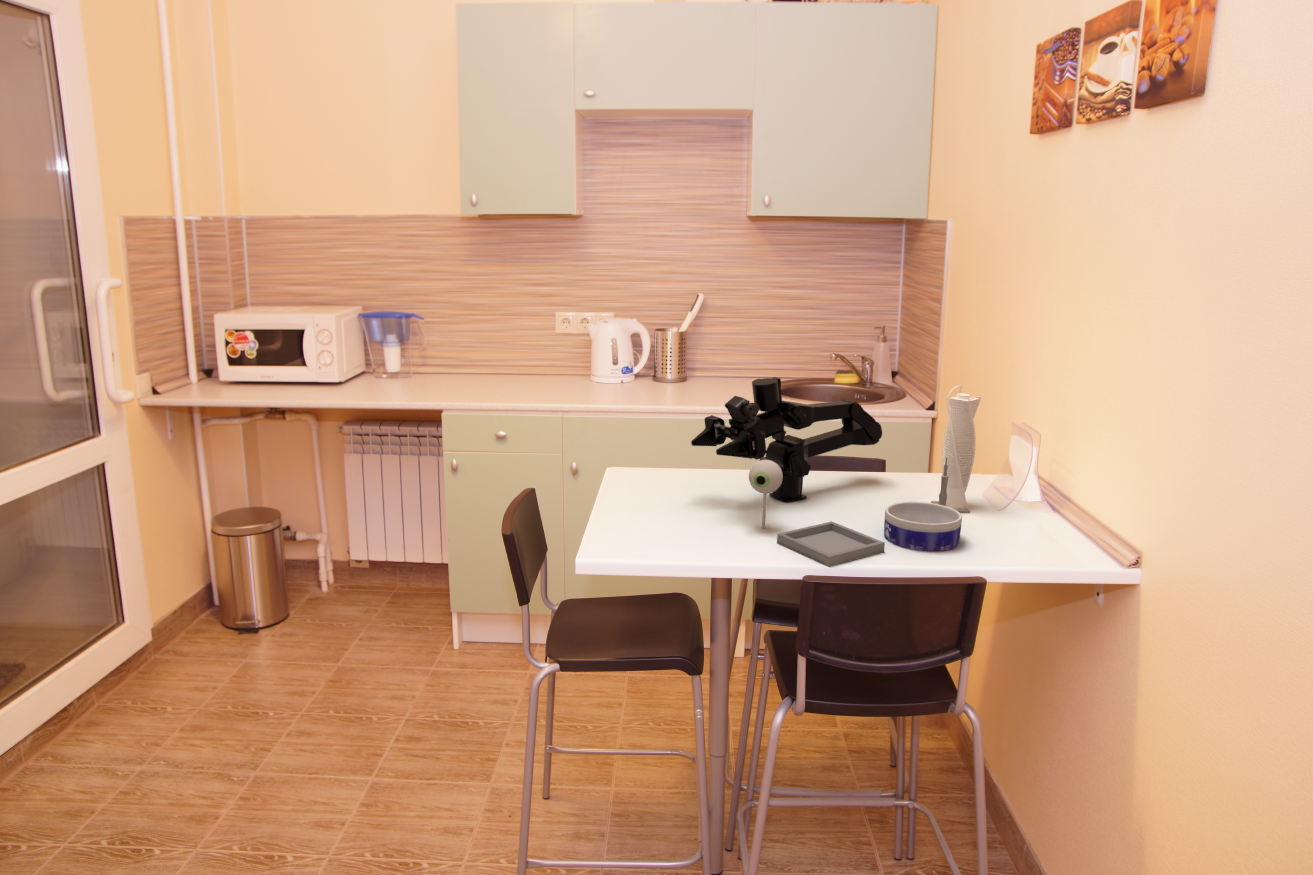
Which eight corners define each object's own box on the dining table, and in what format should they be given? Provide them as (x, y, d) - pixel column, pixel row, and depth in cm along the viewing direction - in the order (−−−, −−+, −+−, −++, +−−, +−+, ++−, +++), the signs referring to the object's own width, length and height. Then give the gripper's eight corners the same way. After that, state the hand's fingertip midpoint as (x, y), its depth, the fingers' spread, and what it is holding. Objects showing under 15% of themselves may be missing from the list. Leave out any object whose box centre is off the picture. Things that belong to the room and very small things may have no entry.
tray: (831, 530, 193) (831, 521, 193) (884, 552, 181) (884, 542, 181) (776, 542, 185) (777, 533, 185) (828, 566, 173) (829, 556, 173)
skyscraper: (929, 500, 214) (939, 383, 208) (964, 501, 214) (975, 384, 208) (939, 512, 206) (950, 390, 200) (975, 513, 206) (987, 391, 199)
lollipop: (742, 530, 192) (745, 462, 189) (752, 520, 199) (754, 454, 195) (775, 535, 190) (778, 466, 186) (783, 525, 196) (787, 458, 192)
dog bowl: (868, 532, 193) (870, 505, 192) (926, 523, 199) (928, 497, 197) (914, 557, 179) (917, 527, 178) (975, 547, 185) (978, 518, 184)
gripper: (729, 386, 211) (675, 405, 204) (783, 400, 196) (725, 421, 188) (735, 431, 215) (681, 451, 207) (787, 448, 200) (731, 470, 192)
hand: (704, 447), depth 199 cm, fingers open, 9 cm apart
